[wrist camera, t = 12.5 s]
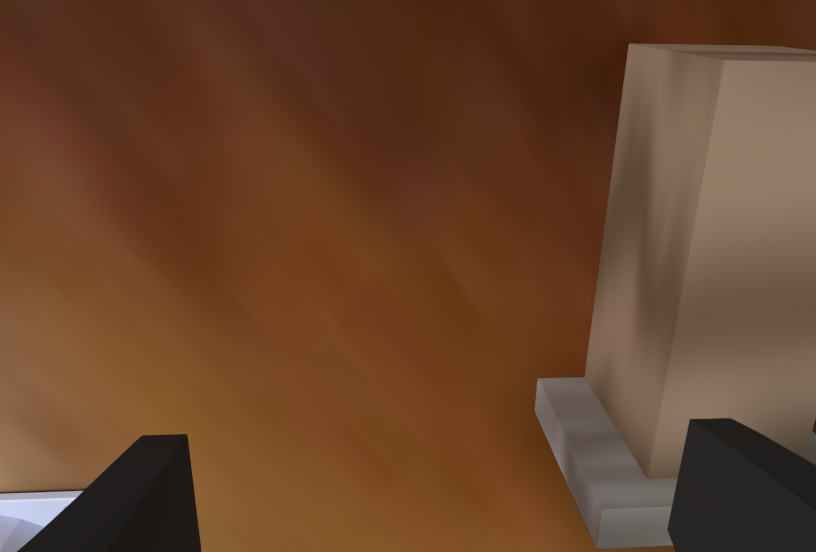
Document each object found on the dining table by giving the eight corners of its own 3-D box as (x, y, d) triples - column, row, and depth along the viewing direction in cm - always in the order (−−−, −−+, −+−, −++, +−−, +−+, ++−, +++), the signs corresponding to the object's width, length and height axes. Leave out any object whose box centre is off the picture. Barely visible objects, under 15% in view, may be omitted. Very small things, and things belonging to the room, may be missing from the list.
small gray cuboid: (572, 42, 18) (672, 64, 12) (827, 46, 18) (1032, 68, 13) (534, 410, 22) (596, 549, 17) (743, 404, 23) (870, 536, 17)
